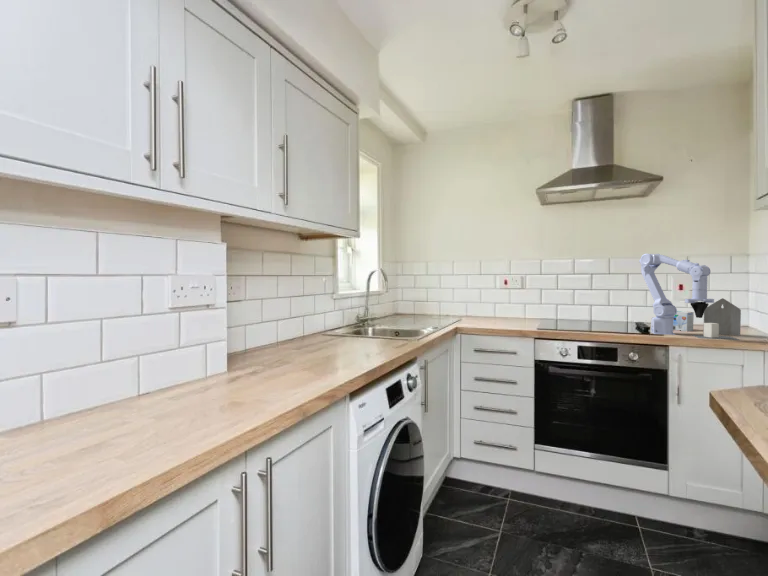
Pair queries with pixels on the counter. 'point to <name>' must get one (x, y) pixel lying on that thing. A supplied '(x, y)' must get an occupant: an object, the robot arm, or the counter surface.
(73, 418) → the counter surface
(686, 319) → the light bulb box
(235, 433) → the counter surface
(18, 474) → the counter surface
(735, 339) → the rubber mat
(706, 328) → the cream block
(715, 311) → the gray chamfered slab
